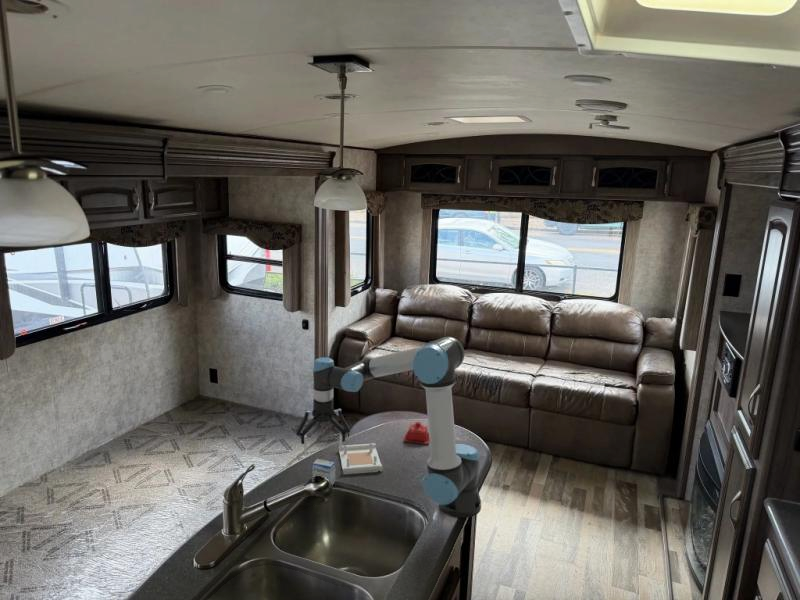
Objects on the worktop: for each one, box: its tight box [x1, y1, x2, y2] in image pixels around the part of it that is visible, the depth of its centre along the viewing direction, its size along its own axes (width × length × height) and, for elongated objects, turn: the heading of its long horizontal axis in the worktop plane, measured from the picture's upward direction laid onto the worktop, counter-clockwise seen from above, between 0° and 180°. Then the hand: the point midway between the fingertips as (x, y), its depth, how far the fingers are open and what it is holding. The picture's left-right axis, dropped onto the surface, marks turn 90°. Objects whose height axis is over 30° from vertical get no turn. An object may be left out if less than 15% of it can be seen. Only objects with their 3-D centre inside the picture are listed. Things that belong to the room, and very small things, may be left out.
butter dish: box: [403, 421, 430, 444], centre depth 254 cm, size 12×12×8 cm
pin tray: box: [338, 442, 384, 475], centre depth 233 cm, size 20×16×4 cm
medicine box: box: [312, 458, 336, 486], centre depth 215 cm, size 8×4×9 cm, turn 73°
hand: (323, 450), depth 213 cm, fingers open, 13 cm apart
